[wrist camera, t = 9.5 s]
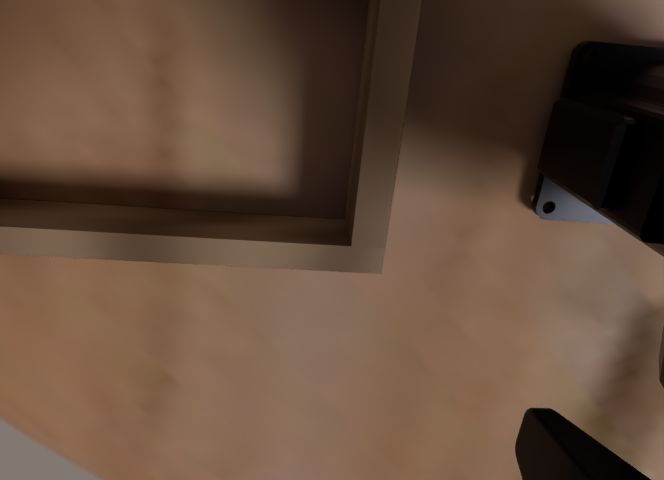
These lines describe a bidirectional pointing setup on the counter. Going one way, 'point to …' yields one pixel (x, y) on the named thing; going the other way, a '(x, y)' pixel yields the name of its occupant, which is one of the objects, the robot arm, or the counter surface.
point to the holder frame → (255, 229)
